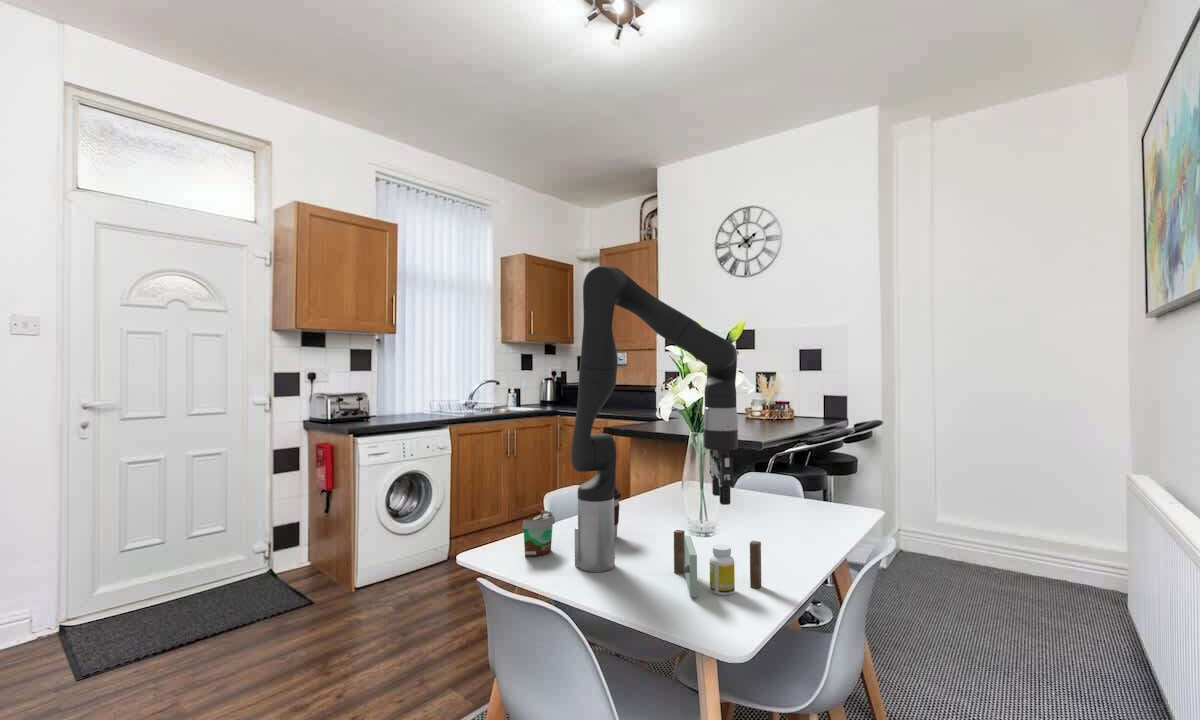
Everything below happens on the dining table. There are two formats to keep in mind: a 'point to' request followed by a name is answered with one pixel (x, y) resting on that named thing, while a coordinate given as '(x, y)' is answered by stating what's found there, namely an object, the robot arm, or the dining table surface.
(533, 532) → the food container
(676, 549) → the door frame
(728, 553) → the supplement bottle
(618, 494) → the coffee cup
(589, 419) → the robot arm
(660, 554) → the dining table surface
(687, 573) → the door
